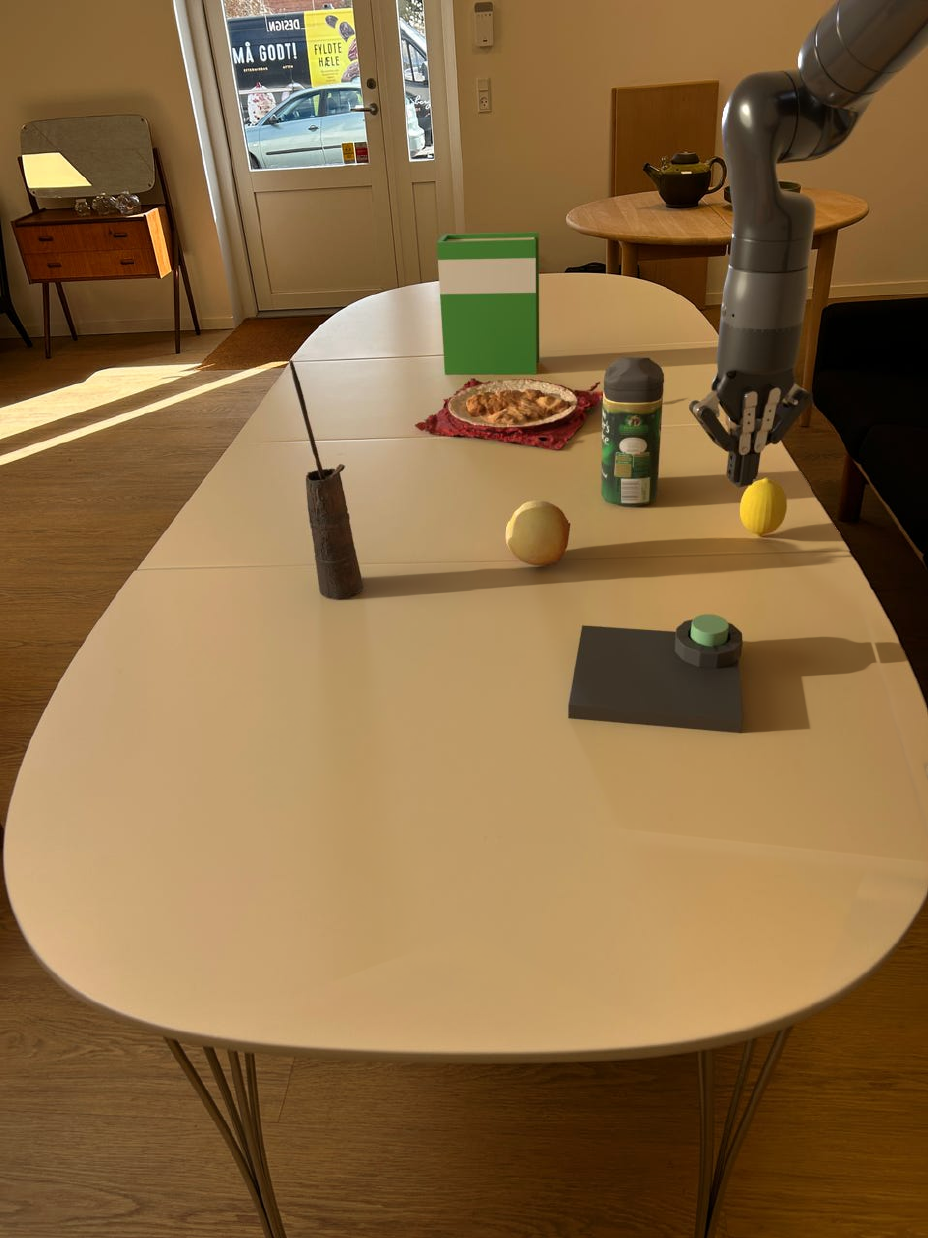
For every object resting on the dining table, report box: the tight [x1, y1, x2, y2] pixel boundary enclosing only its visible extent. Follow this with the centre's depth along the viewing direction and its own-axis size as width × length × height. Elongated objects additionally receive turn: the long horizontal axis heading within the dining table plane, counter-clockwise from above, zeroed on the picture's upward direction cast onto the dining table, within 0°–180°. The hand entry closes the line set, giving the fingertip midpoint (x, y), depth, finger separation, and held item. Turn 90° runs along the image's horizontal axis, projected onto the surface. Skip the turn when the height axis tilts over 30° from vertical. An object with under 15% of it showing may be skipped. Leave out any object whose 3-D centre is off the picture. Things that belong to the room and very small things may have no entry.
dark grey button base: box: [567, 618, 744, 734], centre depth 93 cm, size 16×14×4 cm
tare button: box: [691, 613, 729, 647], centre depth 94 cm, size 4×4×2 cm
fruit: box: [505, 500, 571, 566], centre depth 113 cm, size 8×8×8 cm
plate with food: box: [414, 377, 603, 451], centre depth 158 cm, size 24×26×4 cm
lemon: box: [739, 477, 788, 538], centre depth 116 cm, size 6×6×8 cm
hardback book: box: [436, 231, 540, 375], centre depth 175 cm, size 18×7×24 cm, turn 82°
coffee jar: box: [600, 356, 665, 508], centre depth 126 cm, size 10×8×19 cm
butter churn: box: [288, 359, 364, 600], centre depth 105 cm, size 9×10×28 cm
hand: (741, 483), depth 97 cm, fingers closed
